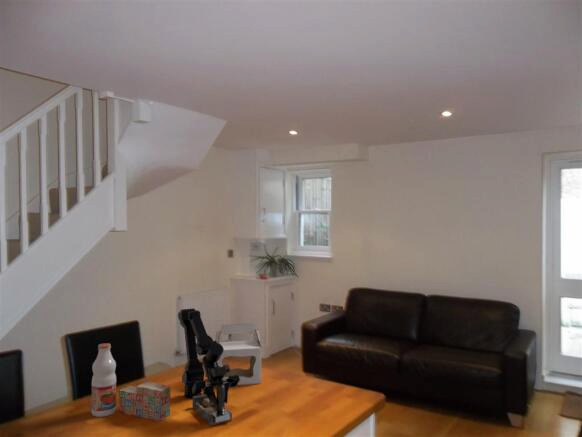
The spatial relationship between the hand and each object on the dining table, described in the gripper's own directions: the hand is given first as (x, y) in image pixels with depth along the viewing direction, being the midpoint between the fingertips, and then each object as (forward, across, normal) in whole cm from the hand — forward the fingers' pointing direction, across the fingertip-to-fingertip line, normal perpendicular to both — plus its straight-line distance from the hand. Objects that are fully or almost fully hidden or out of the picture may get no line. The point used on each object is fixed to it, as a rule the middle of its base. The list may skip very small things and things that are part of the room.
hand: (221, 404), depth 183 cm
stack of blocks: (-12, -24, +23) cm, 35 cm away
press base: (-2, 0, +13) cm, 13 cm away
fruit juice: (-19, -38, +30) cm, 52 cm away
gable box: (-24, +26, +36) cm, 50 cm away
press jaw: (+3, 0, +5) cm, 6 cm away
